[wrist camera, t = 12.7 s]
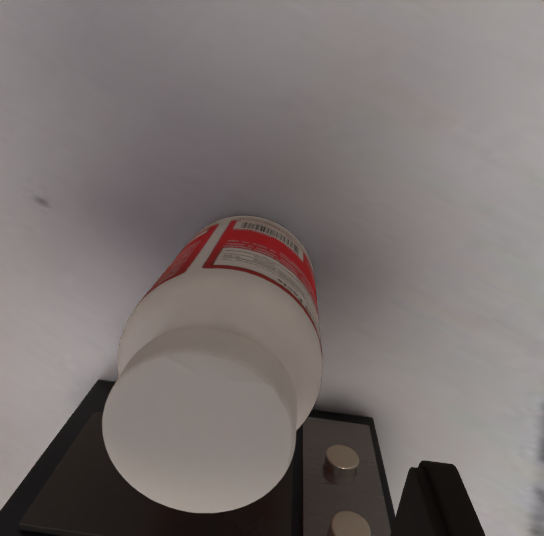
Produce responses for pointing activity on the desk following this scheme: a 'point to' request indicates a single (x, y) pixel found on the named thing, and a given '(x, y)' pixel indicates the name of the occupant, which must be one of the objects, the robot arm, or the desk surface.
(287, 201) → the desk surface
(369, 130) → the desk surface
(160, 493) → the pill bottle
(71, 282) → the desk surface
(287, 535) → the appliance
